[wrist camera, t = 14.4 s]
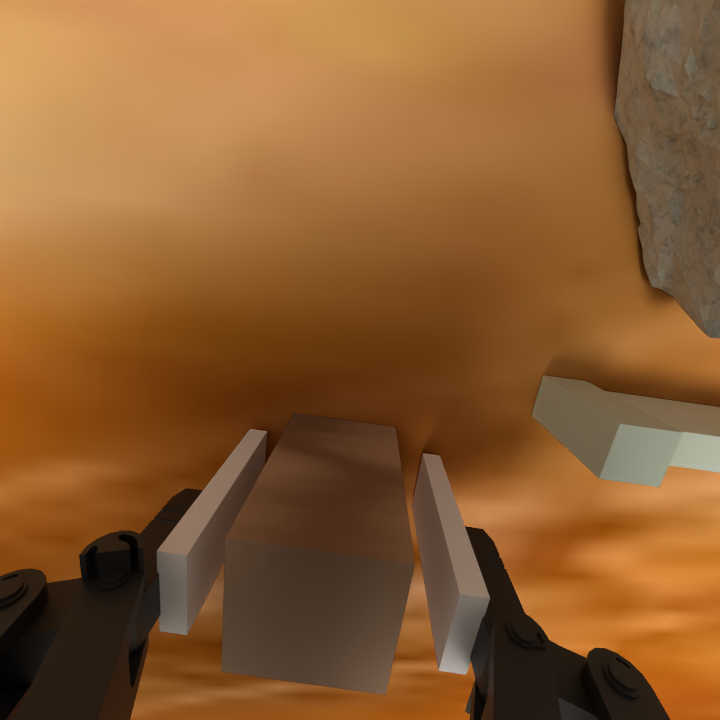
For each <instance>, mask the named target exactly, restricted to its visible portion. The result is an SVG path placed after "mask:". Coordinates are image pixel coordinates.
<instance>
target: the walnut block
mask: <svg viewBox="0 0 720 720" xmlns="http://www.w3.org/2000/svg"><path fill="white" fill-rule="evenodd" d="M414 566H415V561H414V554H413V547H412V540H411V532H410V525H409V518H408V511H407V504H406V497H405V489H404V482H403V475H402V468H401V461H400V454H399V446H398V439H397V432H396V427H392V426H385V425H378V424H370V423H363V422H356V421H349V420H342V419H335V418H327V417H320V416H313V415H306V414H299V413H293V415H292V417H291V419H290V421H289V422H288V424H287V426H286V428H285V430H284V432H283V433H282V435H281V437H280V439H279V441H278V442H277V444H276V446H275V448H274V450H273V452H272V453H271V455H270V457H269V459H268V461H267V463H266V464H265V466H264V468H263V470H262V472H261V474H260V475H259V477H258V479H257V481H256V483H255V484H254V486H253V488H252V490H251V492H250V494H249V495H248V497H247V499H246V501H245V503H244V505H243V506H242V508H241V510H240V512H239V514H238V515H237V517H236V519H235V521H234V523H233V525H232V526H231V528H230V530H229V532H228V534H227V536H226V537H225V566H224V601H223V636H222V671H221V672H227V673H234V674H241V675H248V676H255V677H262V678H269V679H276V680H284V681H291V682H298V683H305V684H312V685H319V686H326V687H333V688H340V689H347V690H354V691H361V692H369V693H376V694H383V695H386V691H387V686H388V682H389V677H390V673H391V669H392V664H393V660H394V655H395V651H396V646H397V642H398V637H399V633H400V629H401V624H402V620H403V615H404V611H405V606H406V602H407V597H408V593H409V589H410V584H411V580H412V575H413V571H414Z"/></svg>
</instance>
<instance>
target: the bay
mask: <svg viewBox="0 0 720 720" xmlns="http://www.w3.org/2000/svg"><path fill="white" fill-rule="evenodd" d="M531 415H532V416H533V417H534V418H535V419H536V420H537V421H538V422H539V423H540V424H541V425H542V426H543V427H545V428H546V429H547V430H548V431H549V432H550V433H551V434H552V435H553V436H554V437H555V438H556V439H557V440H558V441H559V442H561V443H562V444H563V445H564V446H565V447H566V448H567V449H568V450H569V451H570V452H571V453H572V454H573V455H574V456H575V457H577V458H578V459H579V460H580V461H581V462H582V463H583V464H584V465H585V466H586V467H587V468H588V469H589V470H590V471H591V472H593V473H594V474H595V475H596V476H597V477H598V478H599V479H605V480H612V481H619V482H627V483H634V484H641V485H648V486H655V487H660V484H661V482H662V480H663V478H664V475H665V473H666V471H667V469H668V466H669V465H670V466H677V467H684V468H691V469H698V470H705V471H713V472H720V407H716V406H709V405H702V404H694V403H687V402H680V401H673V400H666V399H659V398H652V397H645V396H638V395H630V394H623V393H616V392H609V391H604V390H602V389H601V388H599V387H597V386H595V385H593V384H591V383H589V382H587V381H582V380H575V379H567V378H560V377H553V376H546V375H543V378H542V381H541V385H540V388H539V391H538V394H537V398H536V401H535V404H534V408H533V411H532V414H531Z"/></svg>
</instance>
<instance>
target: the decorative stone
mask: <svg viewBox="0 0 720 720" xmlns="http://www.w3.org/2000/svg"><path fill="white" fill-rule="evenodd" d="M614 118H615V121H616V123H617V126H618V128H619V130H620V132H621V133H622V136H623V138H624V140H625V142H626V145H627V152H628V167H629V170H630V174H631V178H632V182H633V186H634V188H635V191H636V193H637V199H636V205H637V214H638V217H639V220H640V223H641V224H640V226H639V227H638V229H637V230H638V234H639V238H640V241H641V245H642V249H643V262H644V267H645V270H646V273H647V275H648V278H649V281H650V283H651V286H652V287H655V288H659V289H661V290H663V291H665V292H666V293H668V294H669V295H671V296H673V297H674V298H675V299H676V301H677V302H678V303H679V305H680V306H681V308H682V309H683V310H684V311H685V312H686V313H687V315H688V316H689V317H690V318H691V319H692V320H693V321H694V322H695V324H696V325H697V326H698V327H699V328H700V329H701V330H702V331H703V332H704V333H705V334H706V335H707V336H709V337H710V338H720V0H625V6H624V28H623V39H622V50H621V58H620V66H619V75H618V86H617V95H616V104H615V112H614Z"/></svg>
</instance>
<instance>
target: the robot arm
mask: <svg viewBox="0 0 720 720" xmlns="http://www.w3.org/2000/svg"><path fill="white" fill-rule="evenodd" d="M266 441H267V431H262V430H255V429H250V430H249V431H248V432H247V434H246V435H245V436H244V437H243V439H242V440H241V441H240V443H239V444H238V445H237V447H236V448H235V449H234V451H233V452H232V453H231V455H230V456H229V457H228V458H227V460H226V461H225V462H224V464H223V465H222V466H221V468H220V469H219V470H218V472H217V473H216V474H215V475H214V477H213V478H212V479H211V481H210V482H209V483H208V485H207V486H206V487H205V489H204V490H203V491H202V490H195V489H188V488H186V489H185V490H183V491H181V492H180V493H178V494H177V495H175V496H173V497H172V498H171V499H170V500H169V502H168V503H167V504H166V505H165V506H164V507H163V509H162V511H160V512H159V513H158V514H157V515H156V516H155V518H154V520H152V521H151V522H150V523H149V524H148V526H147V527H146V528H145V529H144V530H143V531H142V532H141V534H138V533H136V532H133V531H118V532H113V533H109V534H107V535H105V536H102V537H100V538H98V539H96V540H95V541H93V542H92V543H91V544H89V545H88V546H86V548H85V549H84V550H83V551H82V553H81V554H80V555H79V558H80V566H81V575H82V578H78V579H72V580H66V581H59V582H52V583H47V581H46V576H45V575H44V574H43V572H42V571H40V570H36V569H23V570H17V571H14V572H11V573H8V574H5V575H3V576H1V577H0V720H130V718H131V714H132V710H133V706H134V702H135V698H136V694H137V690H138V686H139V682H140V678H141V674H142V670H143V666H144V662H145V658H146V654H147V650H148V643H149V632H150V631H151V629H152V627H153V626H154V624H155V622H156V621H157V619H158V617H159V627H160V631H161V632H168V633H175V634H182V635H188V633H189V631H190V629H191V627H192V625H193V623H194V621H195V619H196V617H197V615H198V613H199V611H200V609H201V607H202V605H203V603H204V601H205V599H206V597H207V595H208V593H209V591H210V589H211V587H212V585H213V583H214V581H215V579H216V577H217V575H218V573H219V571H220V569H221V568H222V566H223V564H224V562H225V537H226V536H227V534H228V532H229V530H230V528H231V526H232V525H233V523H234V521H235V519H236V517H237V515H238V514H239V512H240V510H241V508H242V506H243V505H244V503H245V501H246V499H247V497H248V495H249V494H250V492H251V490H252V488H253V486H254V484H255V483H256V481H257V479H258V477H259V475H260V474H261V472H262V470H263V468H264V466H265V457H266ZM412 509H413V515H414V521H415V527H416V534H417V540H418V546H419V552H420V559H421V565H422V571H423V577H424V583H425V590H426V596H427V602H428V608H429V615H430V621H431V627H432V633H433V639H434V646H435V652H436V658H437V664H438V671H445V672H451V673H458V674H465V675H466V673H467V670H468V667H469V664H470V661H471V662H472V666H473V670H474V674H475V678H476V679H475V682H474V685H473V688H472V691H471V694H470V697H469V700H468V704H467V707H466V711H465V712H467V713H469V714H470V720H670V718H669V717H668V715H667V713H666V711H665V710H664V708H663V706H662V704H661V703H660V701H659V699H658V698H657V696H656V694H655V692H654V691H653V689H652V687H651V686H650V684H649V683H648V682H647V680H646V679H645V677H644V676H643V675H642V673H641V672H640V671H638V670H637V669H636V668H635V667H634V666H633V665H632V664H631V663H630V662H629V661H627V660H626V659H625V658H623V657H622V656H620V655H619V654H617V653H615V652H613V651H610V650H608V649H605V648H594V649H593V650H591V651H590V652H589V653H588V655H587V658H585V657H583V656H581V655H578V654H576V653H574V652H572V651H570V650H567V649H565V648H563V647H561V646H559V645H557V644H555V643H553V642H552V641H550V640H549V639H548V637H547V636H546V634H545V633H544V631H543V630H542V628H541V627H540V626H539V625H538V624H537V623H536V622H535V621H534V620H533V619H532V618H531V617H529V616H527V615H526V614H525V612H524V610H523V608H522V605H521V603H520V601H519V598H518V596H517V594H516V592H515V589H514V587H513V585H512V582H511V580H510V578H509V576H508V573H507V571H506V569H504V564H503V562H502V560H501V558H500V557H499V553H498V550H497V548H496V546H495V544H494V541H493V540H492V539H491V538H490V537H489V536H488V535H487V533H486V532H485V531H484V530H483V529H479V528H472V527H465V525H464V523H463V520H462V517H461V514H460V511H459V508H458V506H457V503H456V500H455V497H454V494H453V491H452V489H451V486H450V483H449V480H448V477H447V474H446V472H445V469H444V466H443V463H442V460H441V457H440V456H439V455H432V454H425V453H423V455H422V459H421V464H420V469H419V474H418V478H417V483H416V488H415V493H414V497H413V502H412Z"/></svg>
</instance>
